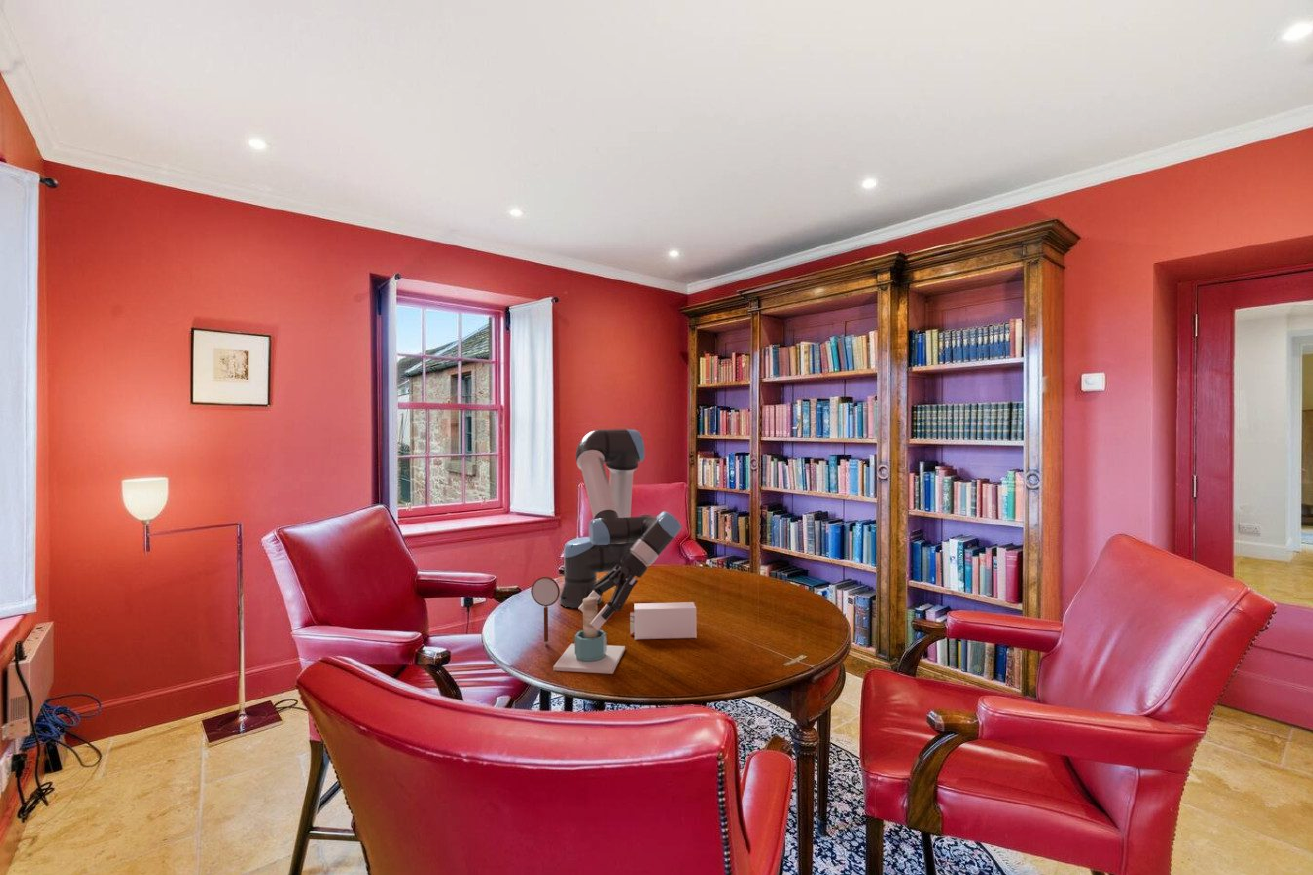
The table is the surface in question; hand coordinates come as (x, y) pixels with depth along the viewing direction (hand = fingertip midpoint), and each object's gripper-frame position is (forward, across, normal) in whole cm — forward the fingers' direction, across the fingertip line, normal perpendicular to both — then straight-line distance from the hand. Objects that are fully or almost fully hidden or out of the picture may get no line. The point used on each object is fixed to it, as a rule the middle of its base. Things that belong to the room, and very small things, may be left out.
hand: (587, 618), depth 152 cm
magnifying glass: (+14, +16, -2) cm, 21 cm away
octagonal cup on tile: (+8, 0, -9) cm, 11 cm away
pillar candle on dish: (+6, 0, -7) cm, 9 cm away
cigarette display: (-10, +9, -27) cm, 30 cm away
